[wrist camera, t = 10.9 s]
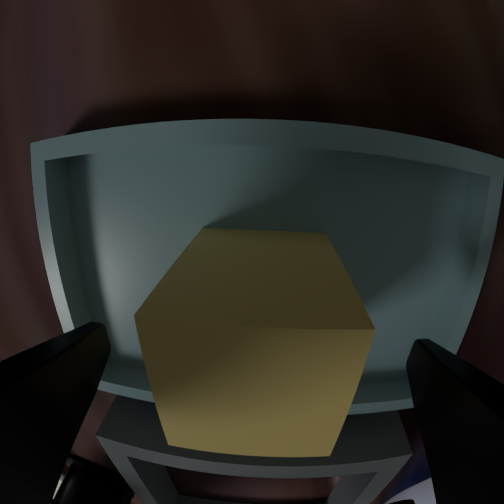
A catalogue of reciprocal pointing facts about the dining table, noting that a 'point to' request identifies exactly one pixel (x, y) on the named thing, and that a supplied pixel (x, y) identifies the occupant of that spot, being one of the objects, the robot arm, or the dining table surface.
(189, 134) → the tray
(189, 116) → the dining table surface
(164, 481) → the bin
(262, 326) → the block
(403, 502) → the coffee mug
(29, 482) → the robot arm
